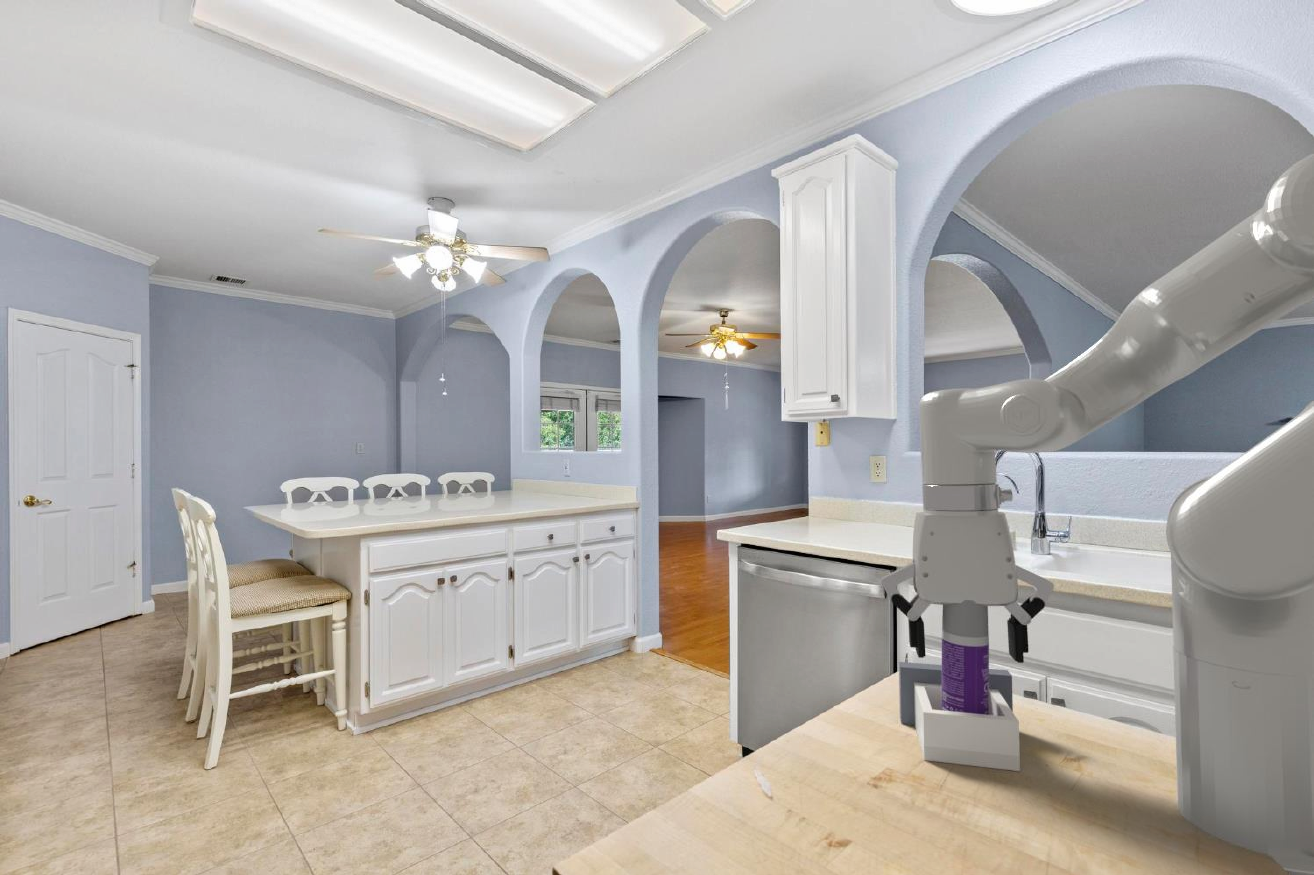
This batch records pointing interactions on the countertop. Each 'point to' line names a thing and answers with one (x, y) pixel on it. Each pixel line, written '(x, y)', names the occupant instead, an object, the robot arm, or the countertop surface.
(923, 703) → the socket block
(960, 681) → the container
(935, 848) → the countertop surface
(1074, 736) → the countertop surface
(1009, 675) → the track
